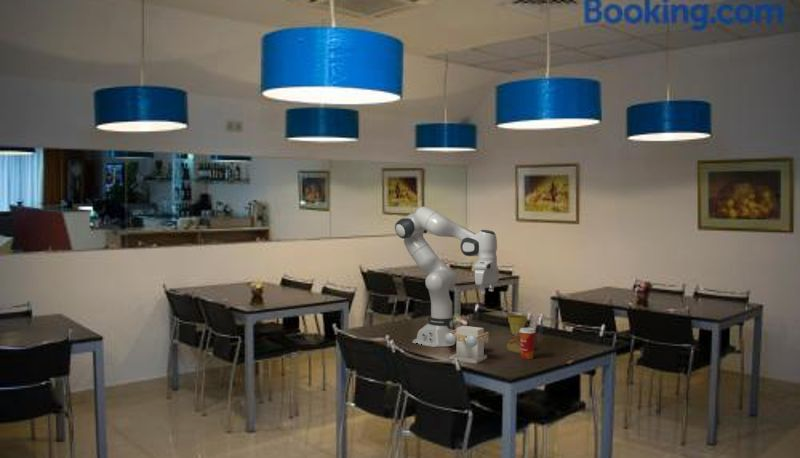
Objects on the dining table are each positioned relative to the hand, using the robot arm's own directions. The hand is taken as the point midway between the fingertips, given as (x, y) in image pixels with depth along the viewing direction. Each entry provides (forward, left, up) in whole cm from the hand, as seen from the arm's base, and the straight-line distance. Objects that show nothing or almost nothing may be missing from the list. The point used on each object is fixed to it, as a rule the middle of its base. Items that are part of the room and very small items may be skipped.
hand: (487, 292), depth 318 cm
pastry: (+7, +24, -32) cm, 40 cm away
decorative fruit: (-8, +8, -31) cm, 33 cm away
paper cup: (+17, +9, -31) cm, 37 cm away
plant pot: (-8, +60, -31) cm, 68 cm away
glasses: (-6, -10, -23) cm, 26 cm away
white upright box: (-6, -9, -31) cm, 33 cm away
